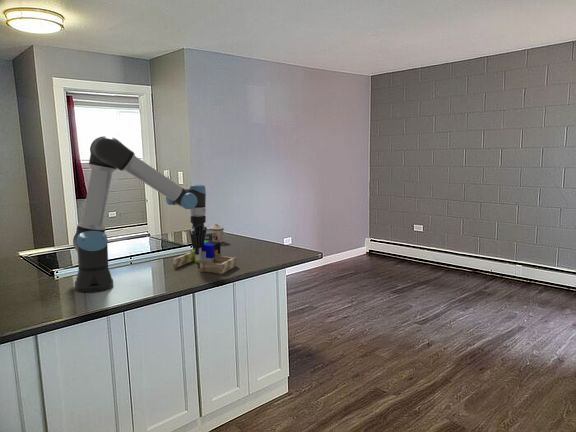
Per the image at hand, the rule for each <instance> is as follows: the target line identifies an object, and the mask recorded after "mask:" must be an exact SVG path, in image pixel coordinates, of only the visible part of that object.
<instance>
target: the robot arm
mask: <svg viewBox="0 0 576 432" xmlns="http://www.w3.org/2000/svg"><path fill="white" fill-rule="evenodd" d="M89 153H90V156H89V160H88V165H89V166H90V168H91V170H90V171H91V172H90V177H89V181H88V186H87V187H88V188H87V192H86V197H85V198H86V199H85V203H84V209H83V214H82V218H81V219H82V220H81V221H80V222H79V223H78V224H77V226H76V232H75V234H74V236H73V241H72V245H73V247H74V249H75V250H76V253H77V265H78V267H77V268H78V272H77V275H76V280H75V282H74V290H75V291H76V292H80V293H99V292H103V291H107V290H110V289H112V287H114V279H113V277H112V274H111V271H110V269H109V254H108V253H109V250H108V249H109V248H108V246H109V245H108V244H109V239H108V236H107V234H106V227H105V226H104V219H105V215H106V214H105V213H106V208H107V203H108V198H109V193H110V186H111V181H112V176H113V173H114V172H116V171H117V170H119V171H121V172H127V173H128V174H130V175H131V176H133V177H134V178H135V179H138V180H139V181H141V182H142V183H144V184H146V185H147V186H148V187H150V188H152V189H153V190H155V191H157V192H158V193H159V194H161V195H163V196H165V202H166V204H167V205H168V206H176V205H177V206H179V207H181V208H183V209H185V210H190V223H191V224H192V226H191V228H192V229H191V230H189V235H190V239H191V240H190V241H191V247H192V249H193V248H195V260H197V261H201V248H203V247H204V242H205V234H206V231H207V230H208V227H207V226H205V223H206V217H207V216H206V210H207V209H206V206H207V205H206V195H207V192H206V186H205V185H203V184H197V183H196V184H190V186H189V188H183V187H182V186H181V185H179V184H178V183H176V182H174V181H173V180H172V179H170V178H168V177H167V176H166V175H164V174H163V173H161V172H159V171H158V170H156V169H155V168H153V167H152V166H151V165H149V164H147V163H146V162H145V161H143V160H142V159H140V158H139V157H137V156H136V154H135V152H134V151H132V150H131V149H130V148H129V147H127V146H126V145H125V144H124V143H122V141H120V140H118V139H117V138H115V137H113V136H99V137H96V138H95V139H94V140H93V141H92V143H90V147H89ZM206 229H207V230H206ZM195 260H194V261H195Z"/></svg>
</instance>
